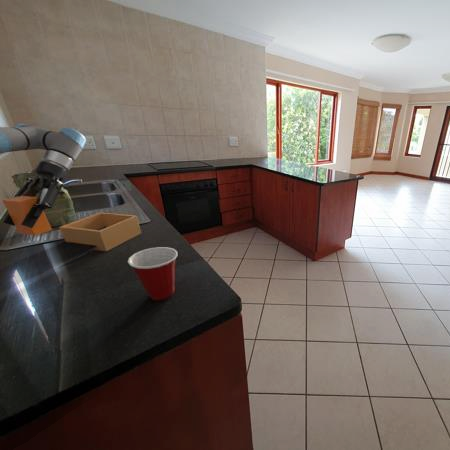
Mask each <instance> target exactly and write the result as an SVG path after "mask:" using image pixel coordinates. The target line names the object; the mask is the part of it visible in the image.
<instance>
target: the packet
mask: <svg viewBox="0 0 450 450" xmlns="http://www.w3.org/2000/svg"><path fill="white" fill-rule="evenodd" d="M13 197H14V196H13ZM13 197H9V198H4V199H2V202H3V204H4V207H5V208H6V211H7V212H8V214H10V216H11V218H12V220H13V222H14V224H15V226H14V227H15V229H16V231H17V232H18V234H19V235H26V236H34V237H37V236H38V235H42V234H45V233H48V232H50V231H53V230H52V229H51V226H50V224H49V222H48V220H47V217H46V215H45V213H44V211H43V212H42V214H41V215H40V217H39V218H38V220H37V221H36V223H35V225H34V226H33V228H30V227H27V226H24V225H21V224H22V222H23V220H24V219H25V217H26V216H27V214H28V212H29V211H30V209H31V208H32V206H33V204H36V201H37V199H38V197H29V196H18V197H14V198H13ZM33 207H35V206H33Z"/></svg>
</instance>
